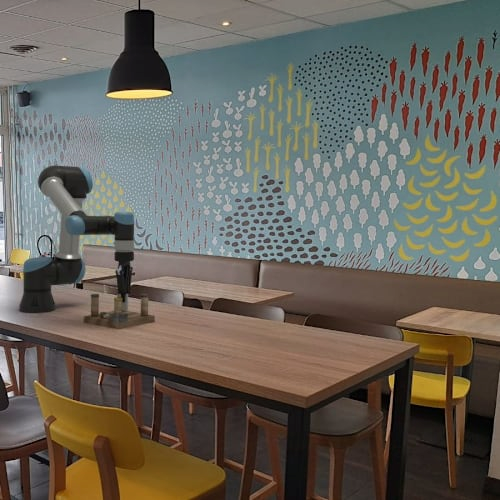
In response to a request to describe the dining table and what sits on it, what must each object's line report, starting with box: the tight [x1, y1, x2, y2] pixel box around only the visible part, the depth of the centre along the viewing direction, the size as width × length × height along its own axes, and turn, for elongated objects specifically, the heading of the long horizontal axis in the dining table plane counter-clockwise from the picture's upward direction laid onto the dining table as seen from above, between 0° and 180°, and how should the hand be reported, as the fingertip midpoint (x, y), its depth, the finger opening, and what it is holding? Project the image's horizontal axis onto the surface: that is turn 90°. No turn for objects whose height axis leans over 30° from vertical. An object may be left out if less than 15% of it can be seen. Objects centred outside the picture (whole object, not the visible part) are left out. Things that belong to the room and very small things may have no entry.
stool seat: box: [83, 290, 156, 330], centre depth 236 cm, size 20×20×11 cm
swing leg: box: [99, 296, 122, 319], centre depth 228 cm, size 12×3×9 cm, turn 53°
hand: (124, 310), depth 230 cm, fingers closed
